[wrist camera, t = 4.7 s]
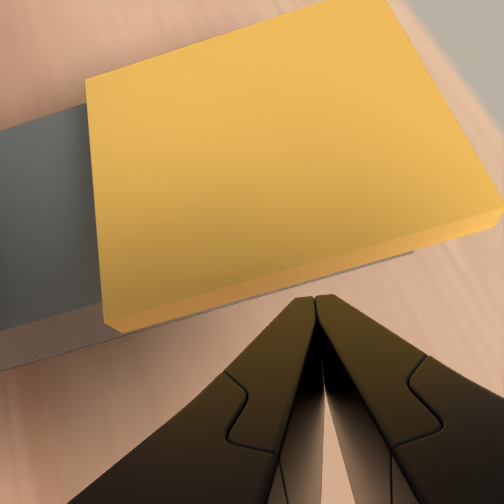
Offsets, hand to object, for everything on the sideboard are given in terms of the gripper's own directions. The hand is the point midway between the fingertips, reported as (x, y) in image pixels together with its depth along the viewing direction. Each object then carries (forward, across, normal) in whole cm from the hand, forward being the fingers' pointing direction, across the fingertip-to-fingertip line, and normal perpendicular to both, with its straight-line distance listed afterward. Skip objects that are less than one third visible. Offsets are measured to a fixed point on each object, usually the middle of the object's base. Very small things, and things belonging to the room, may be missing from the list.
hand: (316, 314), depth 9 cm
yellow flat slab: (+8, -1, +1) cm, 8 cm away
